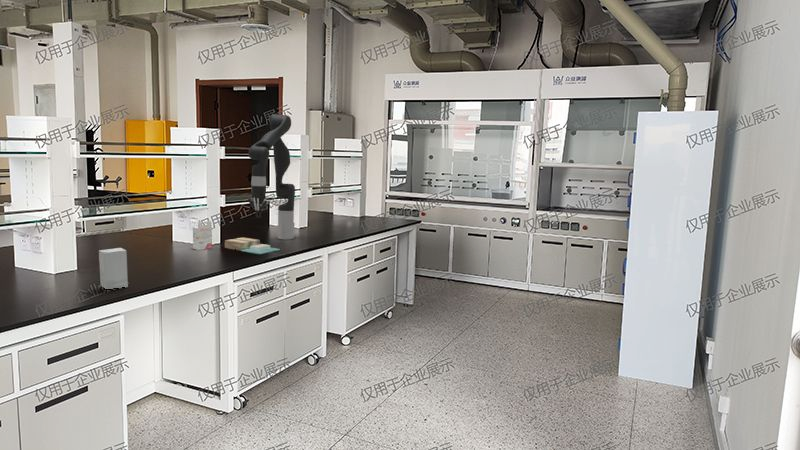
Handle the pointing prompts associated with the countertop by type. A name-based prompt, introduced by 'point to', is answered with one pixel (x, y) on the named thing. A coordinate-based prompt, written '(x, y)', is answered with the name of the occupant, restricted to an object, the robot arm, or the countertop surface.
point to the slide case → (259, 247)
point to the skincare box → (113, 268)
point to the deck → (241, 243)
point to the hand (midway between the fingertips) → (258, 217)
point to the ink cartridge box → (202, 236)
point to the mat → (261, 251)
